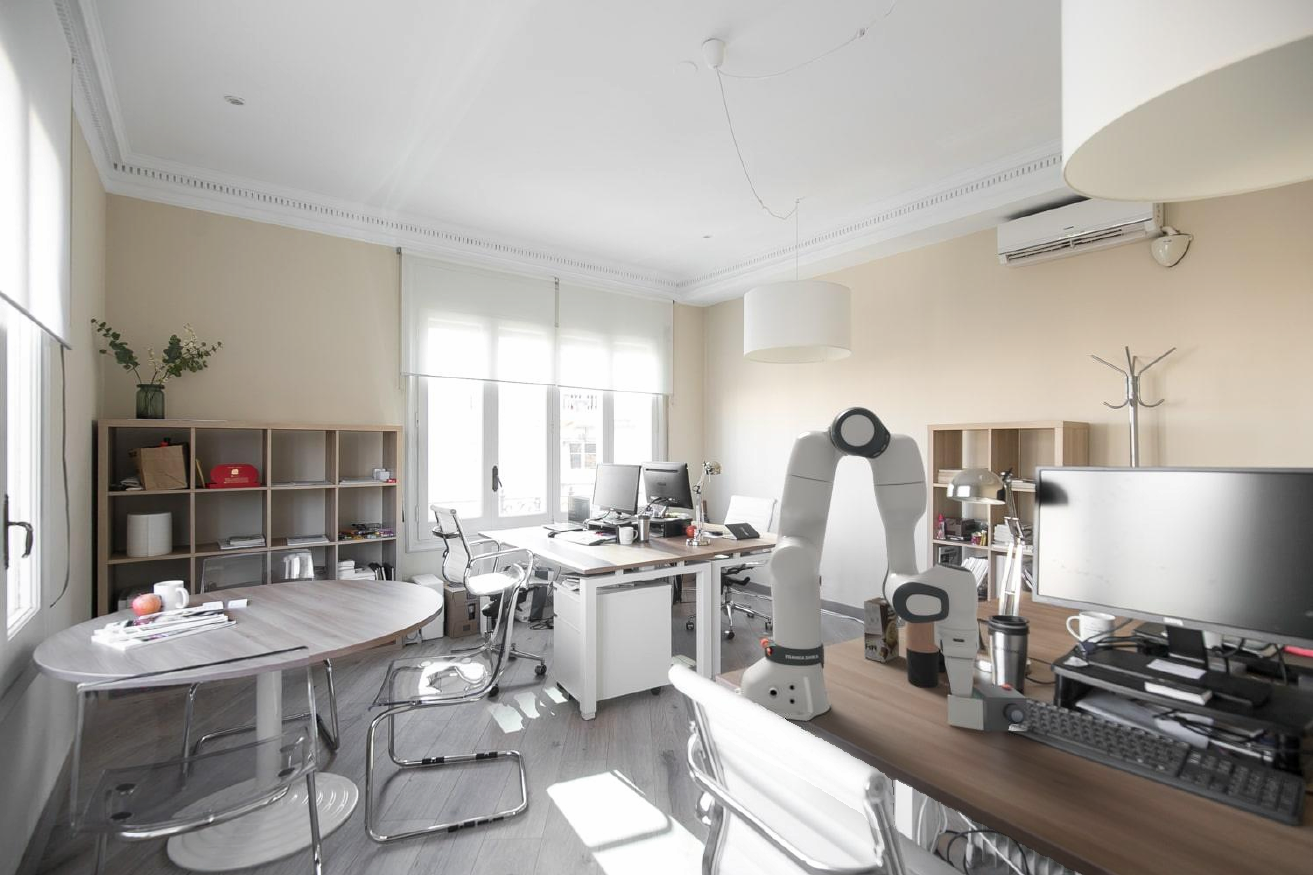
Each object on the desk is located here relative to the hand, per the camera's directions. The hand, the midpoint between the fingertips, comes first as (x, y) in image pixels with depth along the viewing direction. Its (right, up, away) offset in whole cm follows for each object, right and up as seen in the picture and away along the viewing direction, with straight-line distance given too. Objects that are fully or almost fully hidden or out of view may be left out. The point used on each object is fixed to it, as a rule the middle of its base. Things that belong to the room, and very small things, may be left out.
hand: (957, 702), depth 132 cm
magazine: (+8, -5, +30) cm, 32 cm away
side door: (0, -3, -5) cm, 6 cm away
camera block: (+7, -4, -3) cm, 9 cm away
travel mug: (+2, -5, +21) cm, 22 cm away
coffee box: (-1, -6, +42) cm, 42 cm away
